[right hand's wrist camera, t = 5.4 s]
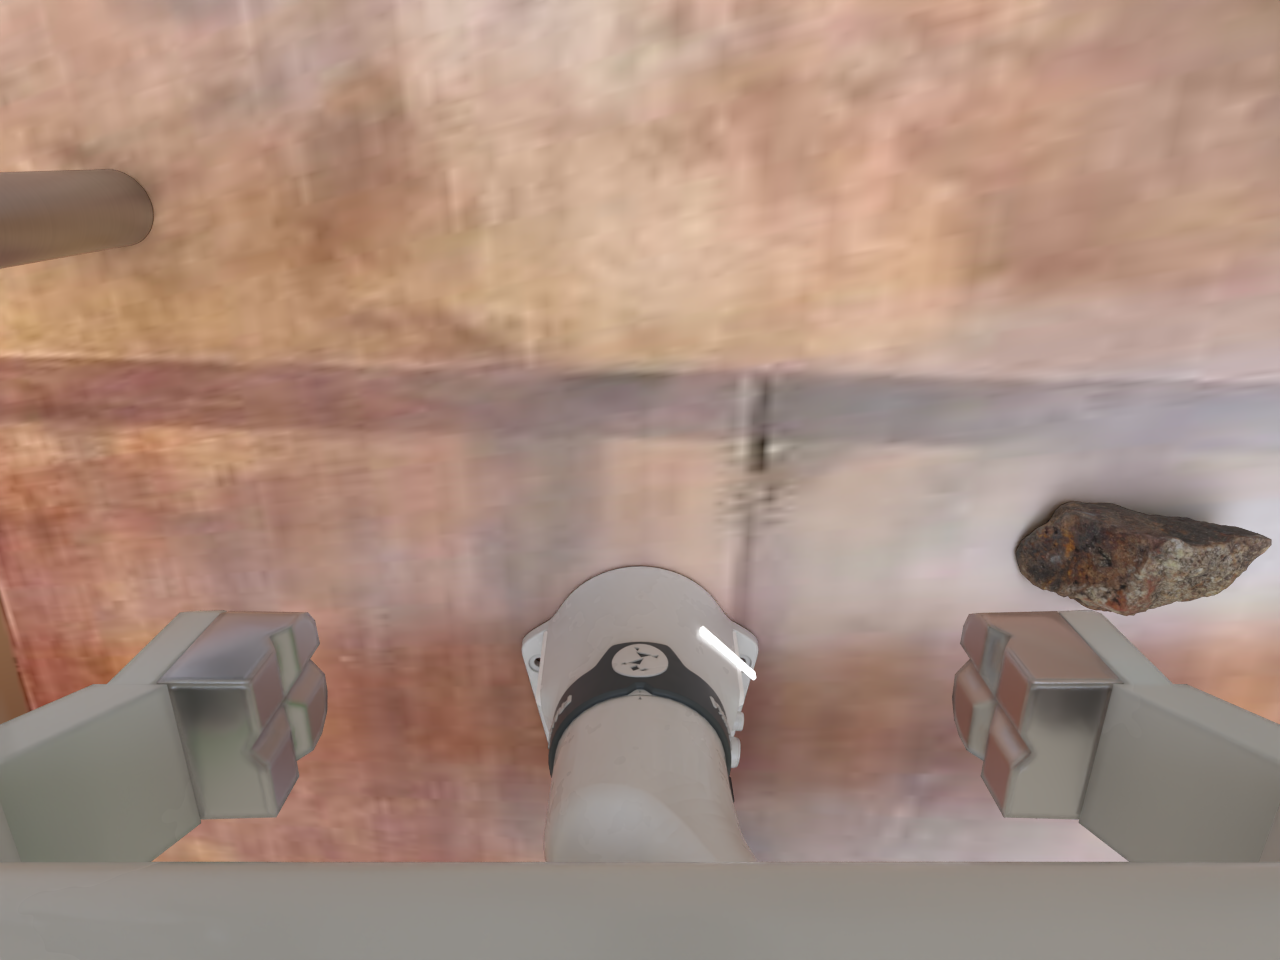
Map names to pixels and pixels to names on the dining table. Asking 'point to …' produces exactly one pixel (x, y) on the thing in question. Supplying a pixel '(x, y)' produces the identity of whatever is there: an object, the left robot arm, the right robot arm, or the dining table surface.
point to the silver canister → (69, 214)
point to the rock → (1134, 557)
